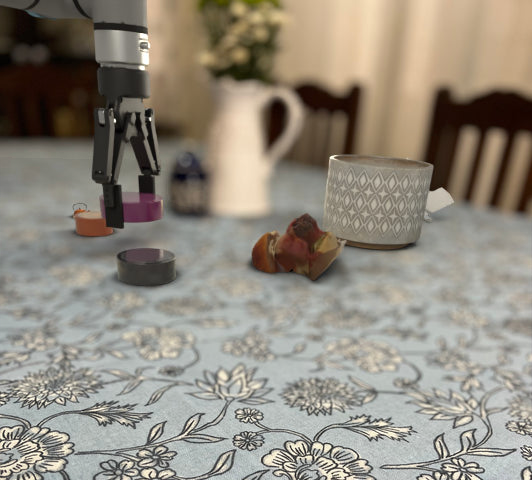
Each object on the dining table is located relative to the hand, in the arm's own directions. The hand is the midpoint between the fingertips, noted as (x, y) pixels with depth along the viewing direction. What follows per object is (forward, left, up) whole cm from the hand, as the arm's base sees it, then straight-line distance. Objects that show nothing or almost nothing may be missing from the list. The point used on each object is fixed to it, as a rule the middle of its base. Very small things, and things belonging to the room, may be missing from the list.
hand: (132, 220), depth 86 cm
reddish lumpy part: (+28, +2, -4) cm, 28 cm away
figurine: (+43, +51, -4) cm, 67 cm away
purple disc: (0, 0, +1) cm, 1 cm away
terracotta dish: (-10, +4, -4) cm, 12 cm away
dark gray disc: (+10, -14, -4) cm, 18 cm away
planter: (+37, +25, -4) cm, 45 cm away
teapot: (-19, +13, -4) cm, 23 cm away
